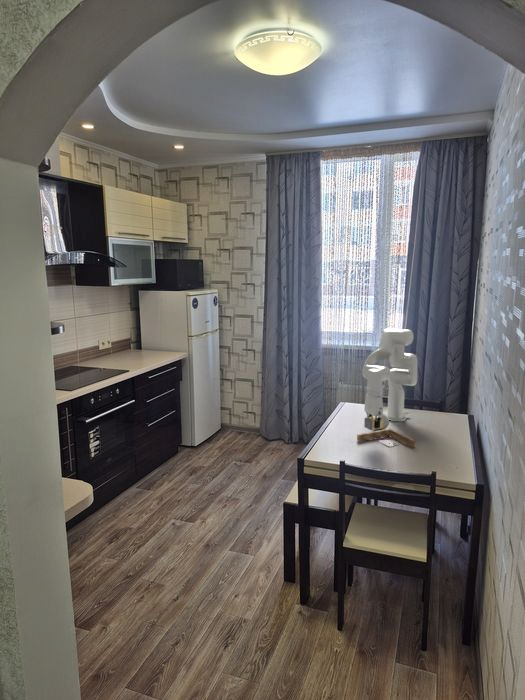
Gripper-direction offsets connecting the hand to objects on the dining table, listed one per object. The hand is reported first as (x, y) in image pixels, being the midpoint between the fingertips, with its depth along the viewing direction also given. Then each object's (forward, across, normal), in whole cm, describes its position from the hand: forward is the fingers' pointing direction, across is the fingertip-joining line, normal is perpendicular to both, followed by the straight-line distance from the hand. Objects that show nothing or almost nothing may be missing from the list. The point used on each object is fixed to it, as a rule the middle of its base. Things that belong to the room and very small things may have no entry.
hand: (373, 425), depth 241 cm
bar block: (+1, 0, 0) cm, 1 cm away
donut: (+12, -18, +19) cm, 29 cm away
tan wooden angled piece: (+11, +2, +7) cm, 13 cm away
